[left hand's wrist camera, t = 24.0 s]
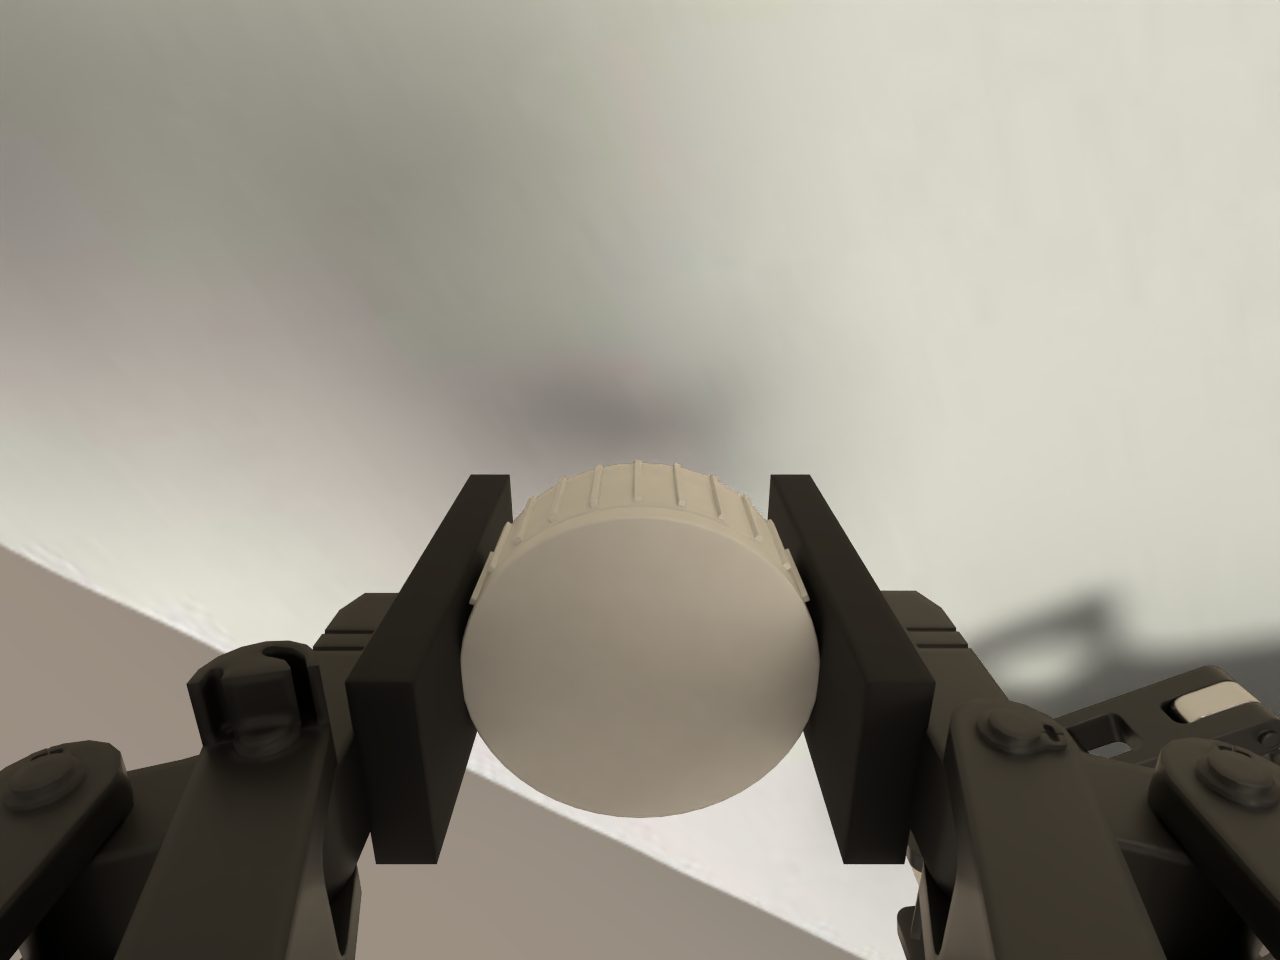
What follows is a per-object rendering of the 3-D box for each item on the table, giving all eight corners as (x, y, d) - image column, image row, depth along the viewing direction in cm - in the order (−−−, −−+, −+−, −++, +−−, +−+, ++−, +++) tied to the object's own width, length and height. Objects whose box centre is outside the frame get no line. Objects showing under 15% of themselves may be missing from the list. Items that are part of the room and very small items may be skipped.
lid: (804, 715, 13) (833, 805, 11) (515, 744, 13) (494, 837, 11) (788, 437, 11) (819, 488, 9) (452, 478, 12) (414, 535, 10)
